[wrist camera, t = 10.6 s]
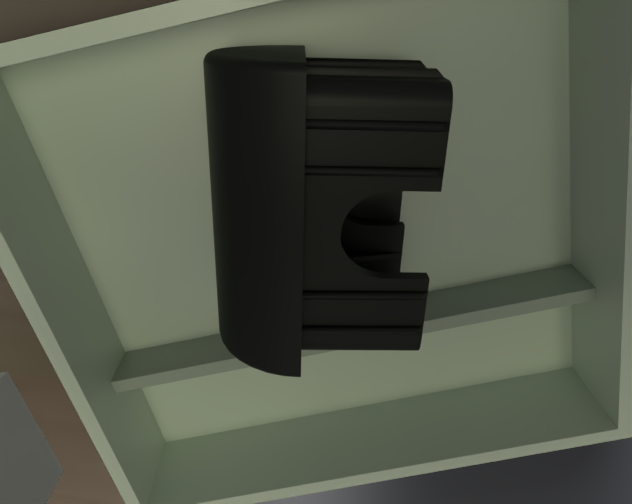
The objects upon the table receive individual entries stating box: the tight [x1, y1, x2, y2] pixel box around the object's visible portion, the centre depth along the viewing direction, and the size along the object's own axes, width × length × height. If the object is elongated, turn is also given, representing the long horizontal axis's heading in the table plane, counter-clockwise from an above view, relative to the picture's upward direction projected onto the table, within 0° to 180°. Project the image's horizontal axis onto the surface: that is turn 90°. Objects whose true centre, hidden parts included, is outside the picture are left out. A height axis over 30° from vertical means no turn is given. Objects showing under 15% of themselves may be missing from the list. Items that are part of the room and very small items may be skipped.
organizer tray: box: [0, 0, 632, 504], centre depth 21 cm, size 22×20×5 cm
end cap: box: [203, 45, 453, 377], centre depth 19 cm, size 10×7×7 cm
